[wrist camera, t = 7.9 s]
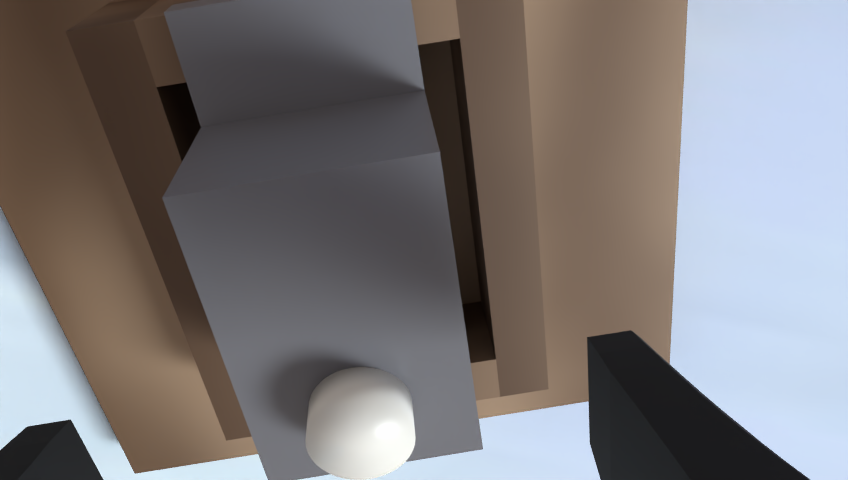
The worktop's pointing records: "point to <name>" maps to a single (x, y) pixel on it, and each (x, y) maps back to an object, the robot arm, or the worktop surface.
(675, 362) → the worktop surface
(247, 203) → the servo block
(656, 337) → the dock
